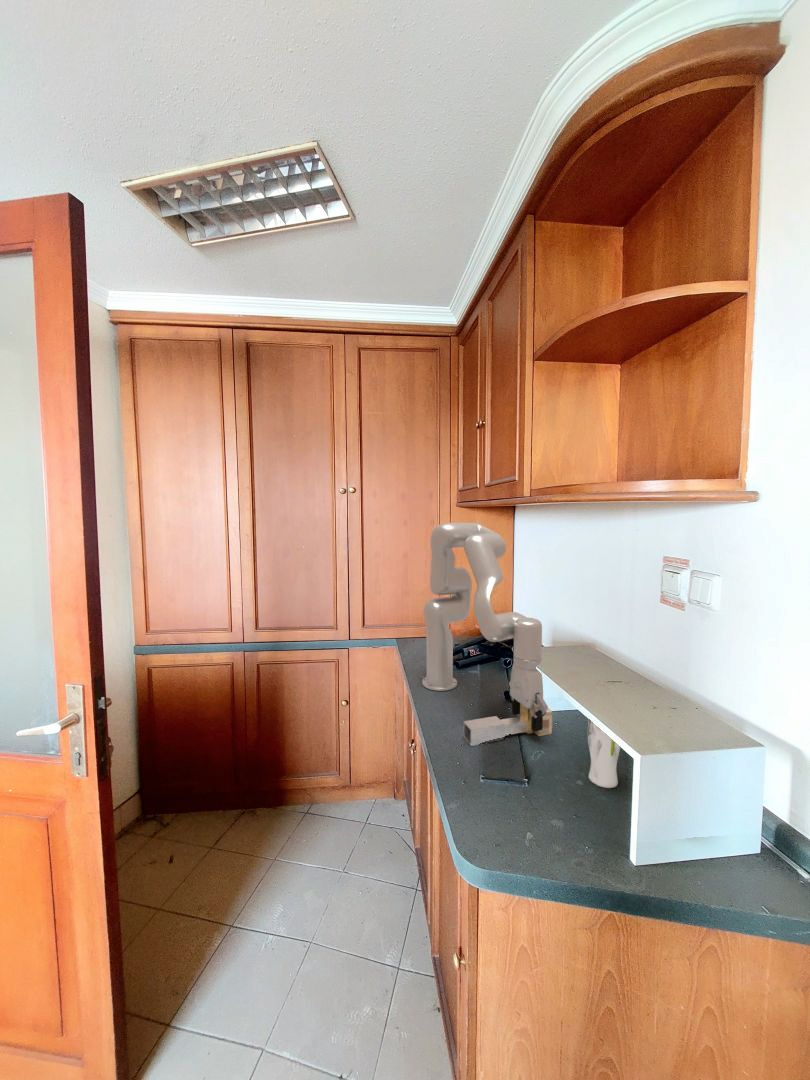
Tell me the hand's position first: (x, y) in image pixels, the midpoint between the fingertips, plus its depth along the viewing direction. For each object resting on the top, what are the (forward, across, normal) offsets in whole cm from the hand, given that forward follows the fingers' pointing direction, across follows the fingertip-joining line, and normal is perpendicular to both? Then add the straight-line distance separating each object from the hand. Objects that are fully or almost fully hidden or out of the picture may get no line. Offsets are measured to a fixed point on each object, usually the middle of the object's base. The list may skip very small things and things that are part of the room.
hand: (526, 721), depth 117 cm
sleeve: (+3, 0, -13) cm, 14 cm away
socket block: (+3, 0, +4) cm, 5 cm away
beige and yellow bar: (+3, 0, -3) cm, 4 cm away
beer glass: (+3, +24, +5) cm, 25 cm away
